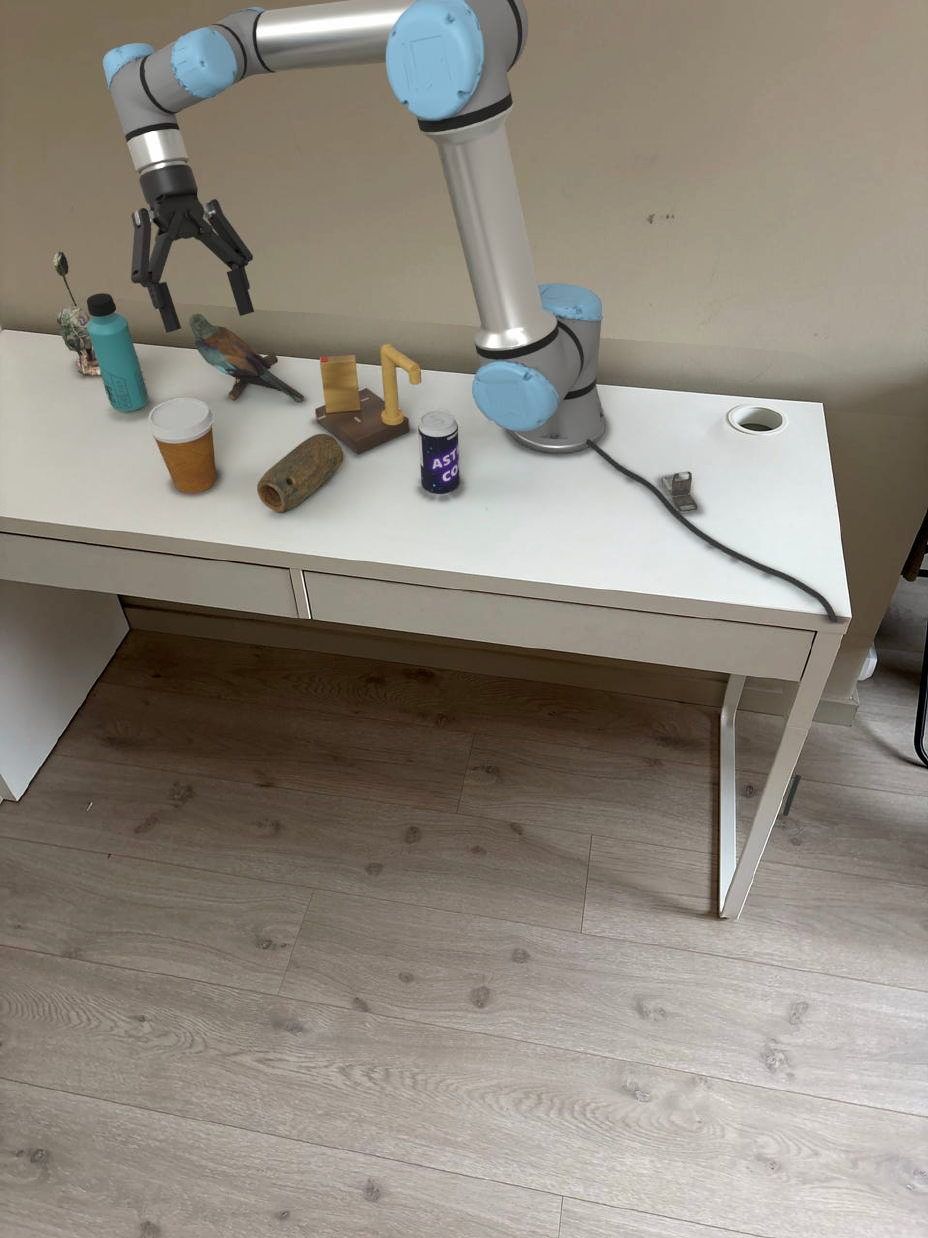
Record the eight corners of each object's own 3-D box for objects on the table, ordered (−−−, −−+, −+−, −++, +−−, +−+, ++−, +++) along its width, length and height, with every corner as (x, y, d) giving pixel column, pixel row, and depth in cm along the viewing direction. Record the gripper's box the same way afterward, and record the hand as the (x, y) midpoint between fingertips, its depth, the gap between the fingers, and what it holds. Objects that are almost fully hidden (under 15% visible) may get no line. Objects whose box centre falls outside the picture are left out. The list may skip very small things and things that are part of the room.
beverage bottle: (160, 405, 171) (130, 293, 157) (131, 424, 167) (98, 311, 153) (132, 394, 174) (100, 283, 160) (103, 413, 170) (68, 300, 156)
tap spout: (431, 436, 158) (427, 361, 149) (412, 445, 157) (407, 369, 148) (395, 410, 164) (390, 336, 155) (377, 418, 162) (370, 343, 153)
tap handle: (360, 404, 165) (354, 352, 159) (360, 410, 164) (355, 358, 158) (326, 407, 165) (319, 355, 159) (326, 413, 164) (319, 361, 157)
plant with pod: (58, 380, 177) (21, 270, 163) (91, 348, 185) (58, 240, 171) (100, 386, 176) (67, 275, 162) (132, 353, 184) (102, 245, 170)
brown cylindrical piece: (298, 523, 148) (291, 486, 143) (257, 511, 150) (250, 474, 145) (349, 467, 157) (345, 431, 153) (310, 457, 159) (305, 420, 155)
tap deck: (409, 431, 164) (408, 417, 162) (350, 457, 159) (348, 443, 157) (361, 396, 172) (360, 382, 170) (303, 419, 167) (301, 405, 165)
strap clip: (659, 480, 153) (662, 456, 150) (679, 477, 154) (682, 454, 151) (678, 514, 147) (682, 491, 144) (699, 511, 148) (703, 488, 145)
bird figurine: (321, 382, 174) (252, 277, 165) (291, 413, 167) (217, 305, 159) (271, 403, 182) (203, 304, 173) (240, 432, 176) (168, 331, 167)
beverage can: (432, 503, 150) (428, 434, 142) (415, 482, 154) (411, 414, 146) (466, 491, 152) (464, 423, 144) (448, 472, 156) (446, 404, 148)
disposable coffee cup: (213, 503, 151) (197, 435, 143) (153, 496, 153) (134, 428, 145) (236, 466, 158) (221, 398, 150) (178, 459, 160) (161, 392, 151)
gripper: (217, 170, 155) (260, 311, 161) (72, 184, 138) (126, 342, 144) (247, 155, 150) (290, 302, 156) (100, 169, 133) (155, 333, 139)
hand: (211, 322), depth 150 cm, fingers open, 13 cm apart
